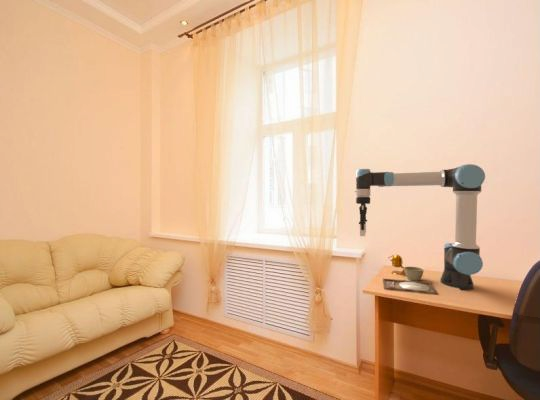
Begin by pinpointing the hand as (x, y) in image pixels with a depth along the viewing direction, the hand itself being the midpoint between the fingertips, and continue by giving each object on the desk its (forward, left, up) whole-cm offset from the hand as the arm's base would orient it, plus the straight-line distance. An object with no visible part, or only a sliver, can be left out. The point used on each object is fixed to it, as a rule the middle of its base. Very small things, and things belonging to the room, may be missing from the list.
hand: (363, 234), depth 156 cm
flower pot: (-28, -14, -28) cm, 42 cm away
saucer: (-26, +1, -27) cm, 37 cm away
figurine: (-21, -27, -28) cm, 44 cm away
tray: (-23, +1, -28) cm, 36 cm away
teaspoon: (-15, 0, -27) cm, 31 cm away
